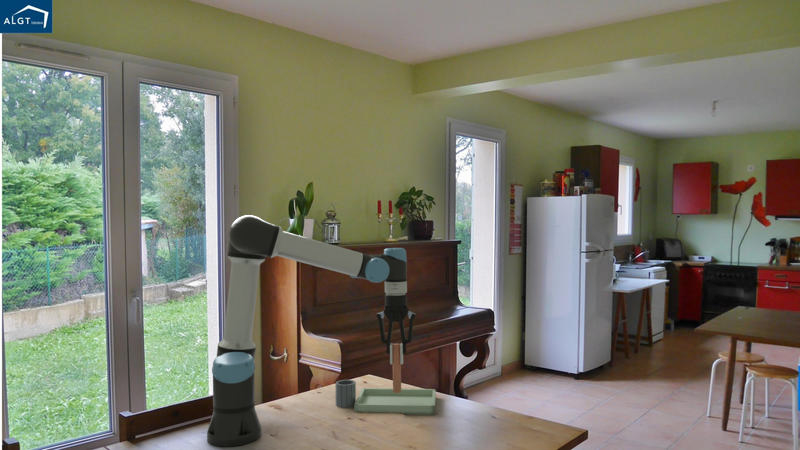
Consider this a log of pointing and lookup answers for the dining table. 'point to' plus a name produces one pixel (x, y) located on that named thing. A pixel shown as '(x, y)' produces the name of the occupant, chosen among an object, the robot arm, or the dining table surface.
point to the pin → (396, 368)
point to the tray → (396, 401)
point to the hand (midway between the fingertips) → (396, 363)
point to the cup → (345, 393)
